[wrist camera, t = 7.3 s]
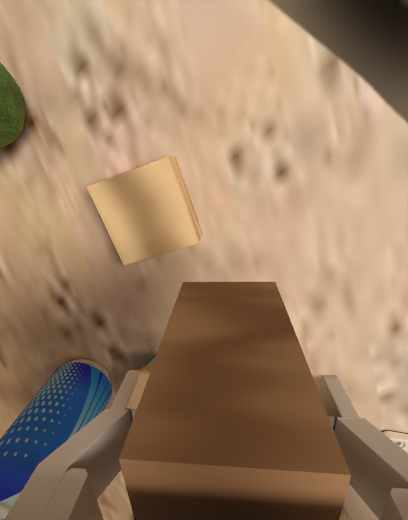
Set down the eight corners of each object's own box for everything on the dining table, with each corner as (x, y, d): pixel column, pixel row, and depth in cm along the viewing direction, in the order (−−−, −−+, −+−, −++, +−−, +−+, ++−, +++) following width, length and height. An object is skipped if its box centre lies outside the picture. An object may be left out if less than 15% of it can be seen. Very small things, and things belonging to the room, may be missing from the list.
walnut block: (275, 281, 12) (351, 475, 5) (270, 355, 14) (321, 584, 6) (183, 282, 12) (118, 459, 5) (189, 353, 14) (147, 565, 7)
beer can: (76, 401, 39) (-17, 552, 24) (48, 360, 36) (-76, 502, 21) (124, 393, 37) (58, 548, 22) (100, 349, 34) (6, 493, 19)
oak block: (176, 157, 25) (168, 156, 21) (202, 232, 27) (198, 243, 24) (106, 183, 26) (86, 187, 22) (136, 252, 29) (124, 265, 25)
